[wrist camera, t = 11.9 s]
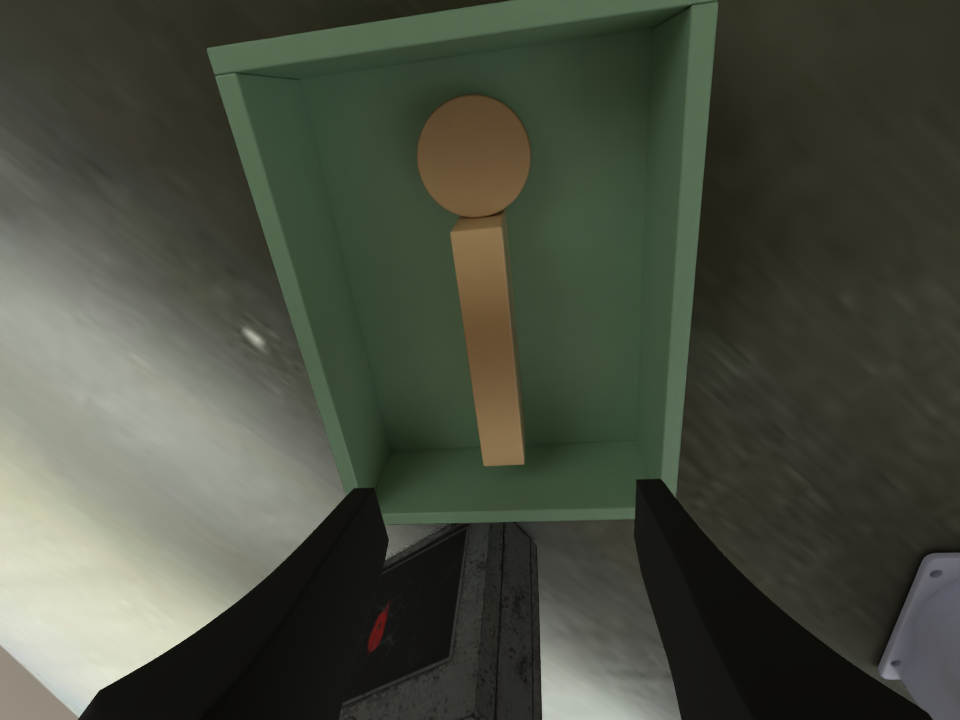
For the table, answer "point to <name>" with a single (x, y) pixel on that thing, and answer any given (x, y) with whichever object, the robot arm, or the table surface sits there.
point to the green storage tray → (531, 232)
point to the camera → (452, 631)
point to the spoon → (483, 251)
